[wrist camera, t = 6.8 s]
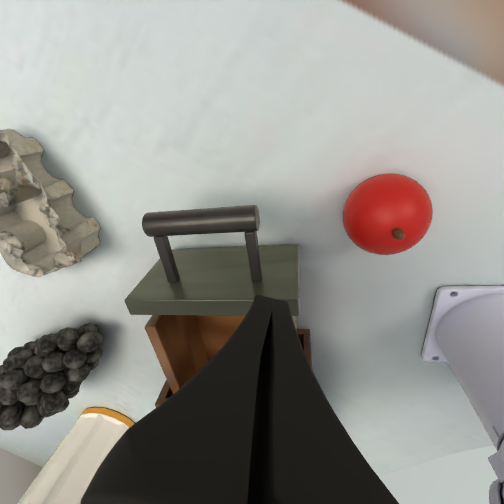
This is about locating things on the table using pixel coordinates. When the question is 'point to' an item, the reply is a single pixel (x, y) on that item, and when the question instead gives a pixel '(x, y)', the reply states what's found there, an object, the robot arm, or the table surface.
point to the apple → (387, 214)
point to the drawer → (207, 286)
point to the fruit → (46, 375)
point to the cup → (77, 458)
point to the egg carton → (38, 212)
